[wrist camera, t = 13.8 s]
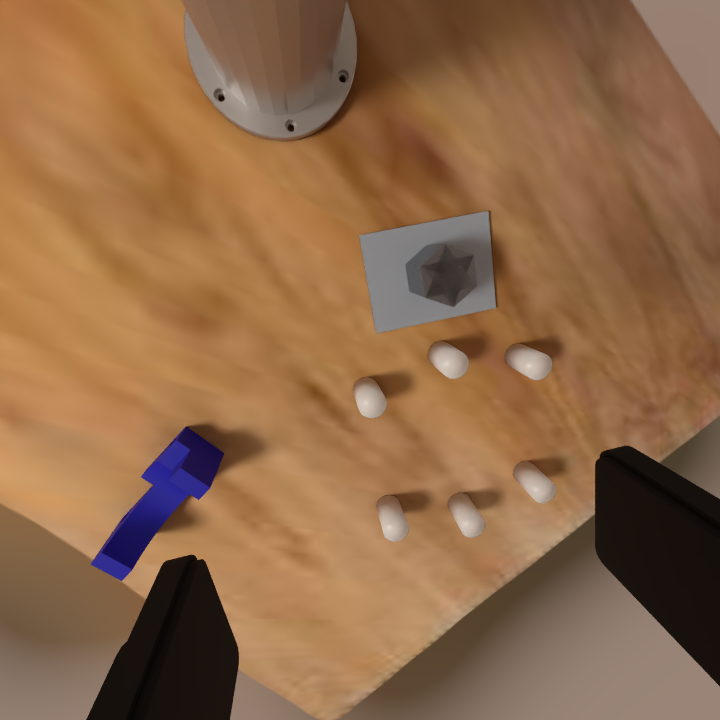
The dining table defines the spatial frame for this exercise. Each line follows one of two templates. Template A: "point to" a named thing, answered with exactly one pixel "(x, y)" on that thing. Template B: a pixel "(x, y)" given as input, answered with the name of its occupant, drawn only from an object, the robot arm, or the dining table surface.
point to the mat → (400, 245)
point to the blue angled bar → (160, 499)
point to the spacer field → (459, 504)
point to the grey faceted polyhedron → (441, 274)
